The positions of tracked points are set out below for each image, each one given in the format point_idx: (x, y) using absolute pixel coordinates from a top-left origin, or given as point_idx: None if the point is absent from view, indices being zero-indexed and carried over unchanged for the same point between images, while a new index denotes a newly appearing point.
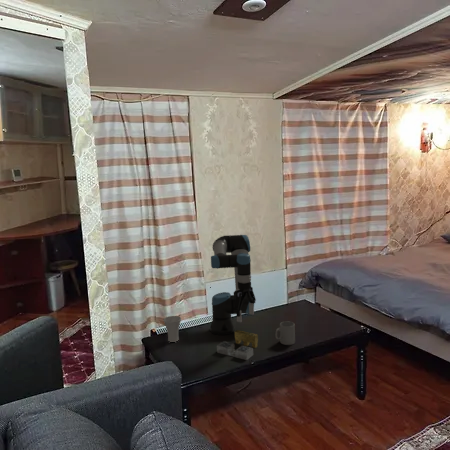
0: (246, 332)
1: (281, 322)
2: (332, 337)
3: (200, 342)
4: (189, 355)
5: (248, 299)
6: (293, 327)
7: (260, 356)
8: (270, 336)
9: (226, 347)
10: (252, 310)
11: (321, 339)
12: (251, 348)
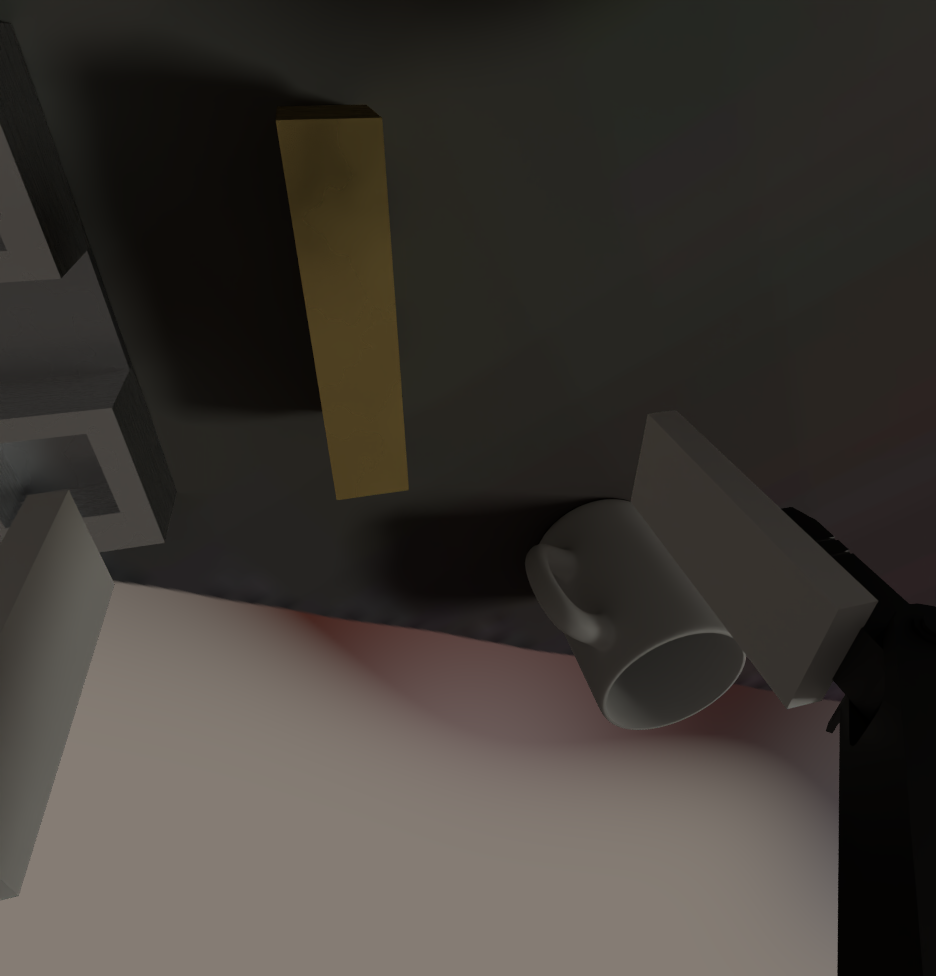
0: (378, 334)
1: (699, 632)
2: (750, 679)
3: None
4: None
5: (895, 797)
6: (641, 712)
7: (206, 550)
8: (660, 377)
9: None
10: (679, 548)
11: None
12: (140, 537)
